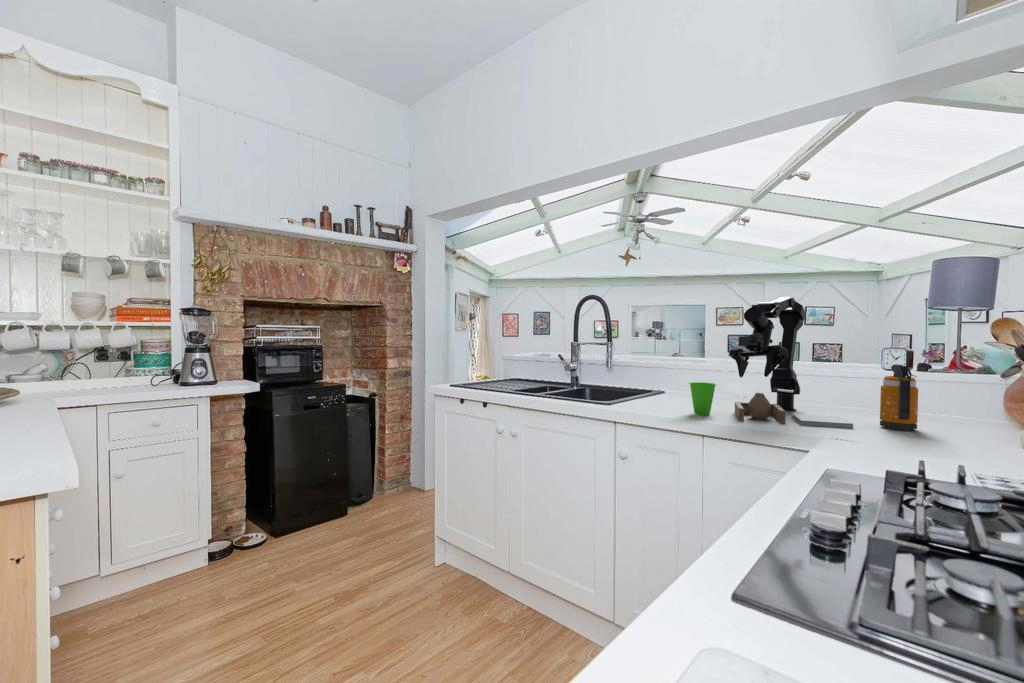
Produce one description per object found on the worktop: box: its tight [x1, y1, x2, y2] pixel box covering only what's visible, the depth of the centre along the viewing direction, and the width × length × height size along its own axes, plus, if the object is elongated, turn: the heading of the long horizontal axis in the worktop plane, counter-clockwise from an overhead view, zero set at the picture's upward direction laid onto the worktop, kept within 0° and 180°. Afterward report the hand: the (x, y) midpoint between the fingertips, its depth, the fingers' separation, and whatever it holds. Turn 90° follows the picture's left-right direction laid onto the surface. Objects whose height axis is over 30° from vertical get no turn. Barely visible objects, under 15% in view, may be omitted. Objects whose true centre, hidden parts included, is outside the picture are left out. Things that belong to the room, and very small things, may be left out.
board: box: [791, 412, 854, 429], centre depth 155 cm, size 14×14×2 cm
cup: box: [688, 381, 717, 416], centre depth 169 cm, size 9×9×11 cm
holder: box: [734, 401, 787, 424], centre depth 163 cm, size 15×14×4 cm
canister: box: [879, 364, 919, 432], centre depth 145 cm, size 9×11×20 cm
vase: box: [748, 392, 771, 421], centre depth 161 cm, size 7×7×9 cm
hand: (752, 376), depth 160 cm, fingers open, 9 cm apart
